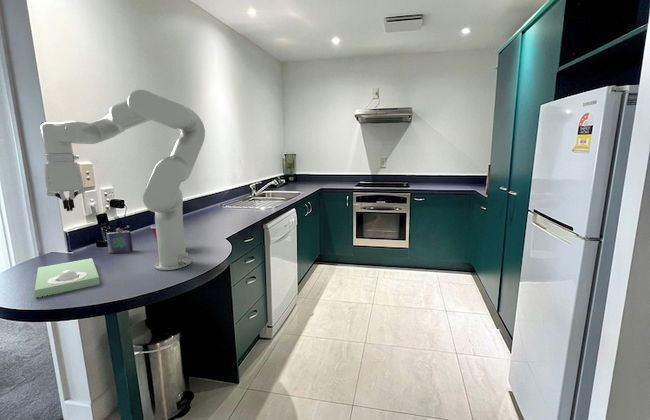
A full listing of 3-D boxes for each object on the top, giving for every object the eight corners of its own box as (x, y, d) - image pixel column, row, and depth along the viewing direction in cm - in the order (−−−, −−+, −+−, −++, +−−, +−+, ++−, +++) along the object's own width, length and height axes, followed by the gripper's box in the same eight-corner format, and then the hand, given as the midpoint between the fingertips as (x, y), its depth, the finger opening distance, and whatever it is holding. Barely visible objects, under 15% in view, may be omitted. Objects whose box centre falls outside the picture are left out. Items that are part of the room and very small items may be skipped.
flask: (108, 254, 141) (104, 229, 139) (110, 252, 144) (107, 228, 142) (132, 251, 144) (129, 228, 142) (133, 249, 146) (131, 226, 145)
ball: (80, 272, 107) (80, 273, 111) (63, 267, 105) (64, 268, 109) (72, 287, 105) (72, 287, 109) (54, 282, 103) (55, 282, 107)
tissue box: (39, 274, 118) (37, 267, 117) (92, 264, 128) (92, 257, 127) (36, 298, 98) (34, 289, 97) (100, 284, 108) (98, 276, 107)
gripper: (85, 158, 121) (93, 206, 125) (32, 160, 112) (42, 212, 115) (87, 158, 116) (96, 208, 119) (32, 160, 106) (42, 215, 109)
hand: (69, 210), depth 117 cm, fingers closed
